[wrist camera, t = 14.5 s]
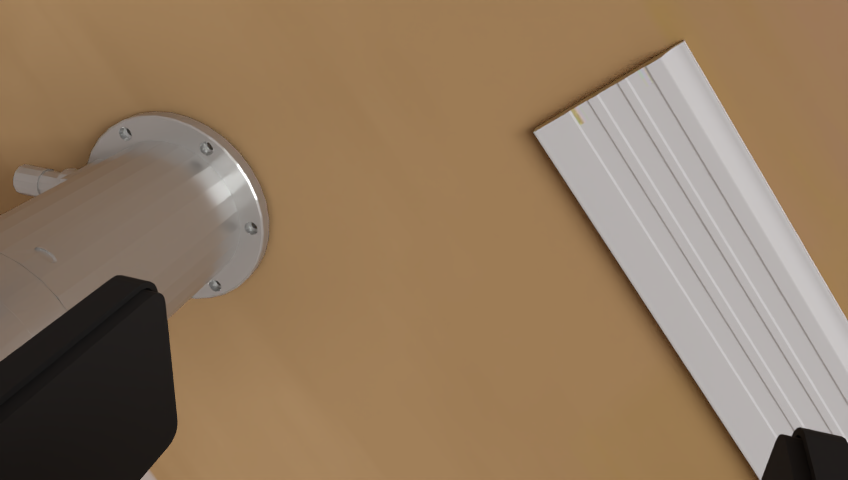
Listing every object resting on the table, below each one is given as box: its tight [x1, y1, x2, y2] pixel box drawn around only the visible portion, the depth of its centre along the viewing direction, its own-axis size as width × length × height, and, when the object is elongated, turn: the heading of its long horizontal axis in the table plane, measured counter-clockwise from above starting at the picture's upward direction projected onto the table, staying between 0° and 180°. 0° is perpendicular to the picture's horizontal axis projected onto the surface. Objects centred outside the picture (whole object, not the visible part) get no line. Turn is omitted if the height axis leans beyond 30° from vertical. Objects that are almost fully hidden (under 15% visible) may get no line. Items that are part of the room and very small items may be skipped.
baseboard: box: [533, 40, 848, 480], centre depth 41 cm, size 30×3×10 cm
